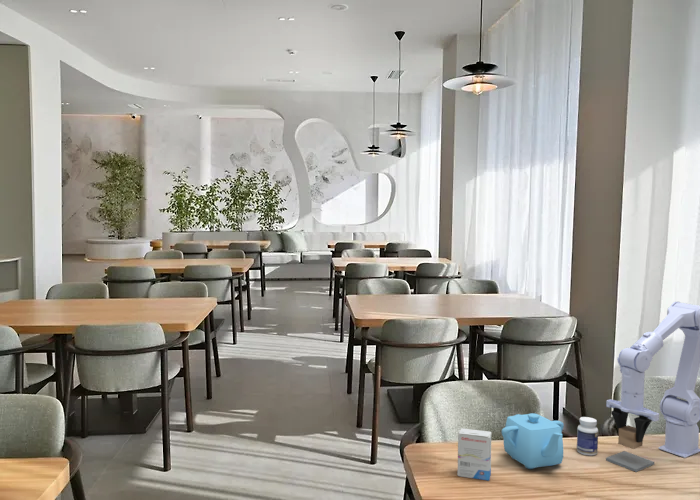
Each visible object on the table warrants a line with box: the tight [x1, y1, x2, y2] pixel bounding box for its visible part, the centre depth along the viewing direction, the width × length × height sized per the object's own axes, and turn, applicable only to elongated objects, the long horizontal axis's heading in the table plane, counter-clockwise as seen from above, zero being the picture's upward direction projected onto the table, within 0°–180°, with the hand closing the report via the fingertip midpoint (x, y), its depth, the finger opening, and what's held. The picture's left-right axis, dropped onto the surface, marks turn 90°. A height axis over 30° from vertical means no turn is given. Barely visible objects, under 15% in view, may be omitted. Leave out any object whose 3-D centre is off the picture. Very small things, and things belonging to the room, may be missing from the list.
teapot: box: [501, 412, 565, 470], centre depth 167 cm, size 18×16×14 cm
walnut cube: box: [617, 424, 644, 450], centre depth 167 cm, size 4×4×4 cm
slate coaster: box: [605, 450, 655, 473], centre depth 167 cm, size 9×9×1 cm
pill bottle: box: [576, 416, 599, 457], centre depth 174 cm, size 6×6×10 cm
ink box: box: [457, 427, 492, 482], centre depth 159 cm, size 9×5×12 cm, turn 71°
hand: (630, 438), depth 167 cm, fingers closed on walnut cube, 4 cm apart
